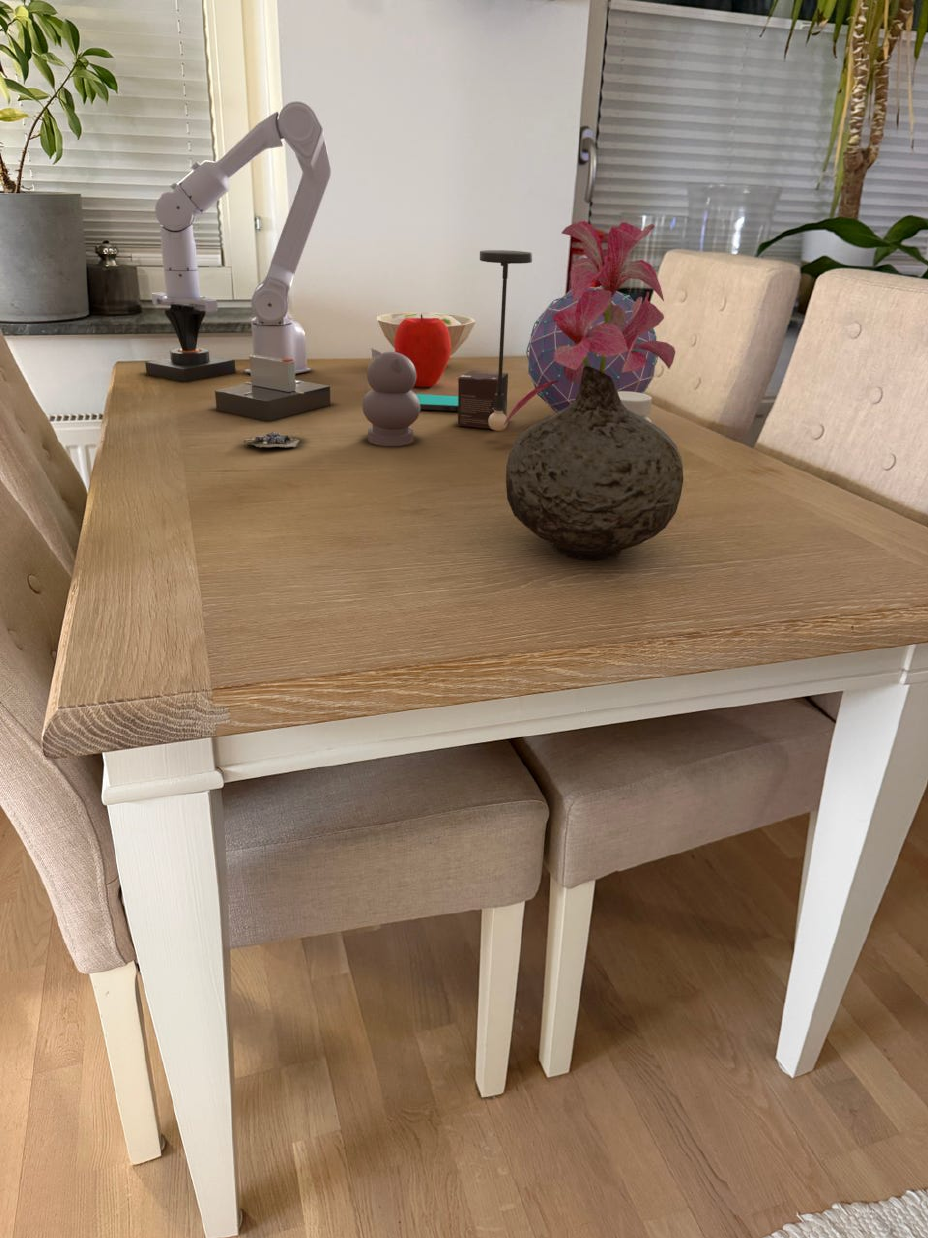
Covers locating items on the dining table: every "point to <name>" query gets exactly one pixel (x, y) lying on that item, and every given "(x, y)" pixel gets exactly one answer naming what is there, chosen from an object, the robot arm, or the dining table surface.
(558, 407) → the decorative sphere
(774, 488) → the dining table surface
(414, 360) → the apple
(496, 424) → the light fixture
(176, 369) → the control block
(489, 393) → the box
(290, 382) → the upright gray tile
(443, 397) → the smartphone
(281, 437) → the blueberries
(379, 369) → the cat figurine
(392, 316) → the bowl
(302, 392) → the tile base
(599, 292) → the vase
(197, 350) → the button
